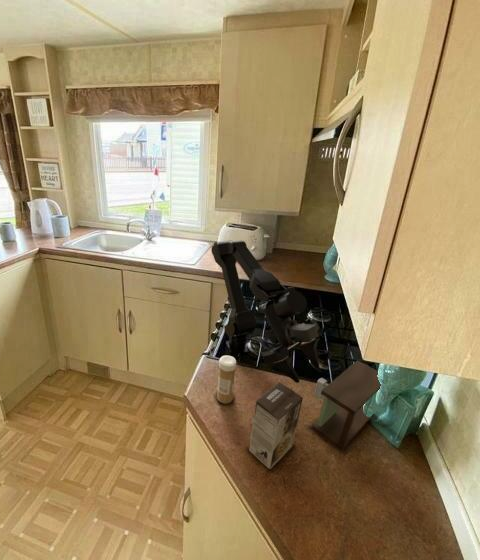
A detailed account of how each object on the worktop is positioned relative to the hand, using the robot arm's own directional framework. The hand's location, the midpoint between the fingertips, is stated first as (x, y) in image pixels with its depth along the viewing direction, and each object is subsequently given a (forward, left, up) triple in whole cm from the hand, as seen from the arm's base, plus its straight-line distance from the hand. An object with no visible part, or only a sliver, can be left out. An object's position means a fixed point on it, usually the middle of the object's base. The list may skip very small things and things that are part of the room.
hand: (308, 374), depth 83 cm
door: (+5, +3, -9) cm, 11 cm away
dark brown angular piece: (+7, +9, -11) cm, 15 cm away
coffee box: (+12, -14, -11) cm, 21 cm away
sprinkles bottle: (-5, -21, -11) cm, 24 cm away
